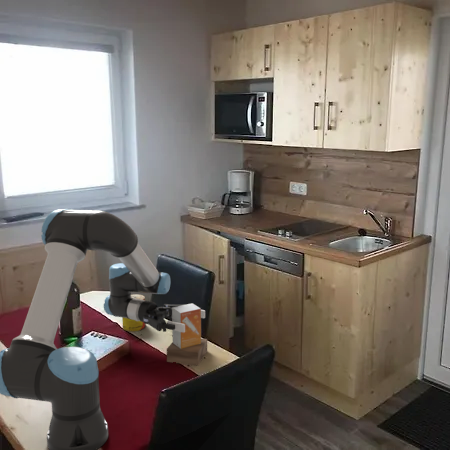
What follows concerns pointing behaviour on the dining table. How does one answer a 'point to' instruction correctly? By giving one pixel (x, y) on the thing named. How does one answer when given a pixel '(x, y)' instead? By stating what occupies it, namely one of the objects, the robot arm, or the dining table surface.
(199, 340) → the small box
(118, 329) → the dining table surface
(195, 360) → the walnut block
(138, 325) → the yellow food can
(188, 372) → the dining table surface
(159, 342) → the dining table surface
